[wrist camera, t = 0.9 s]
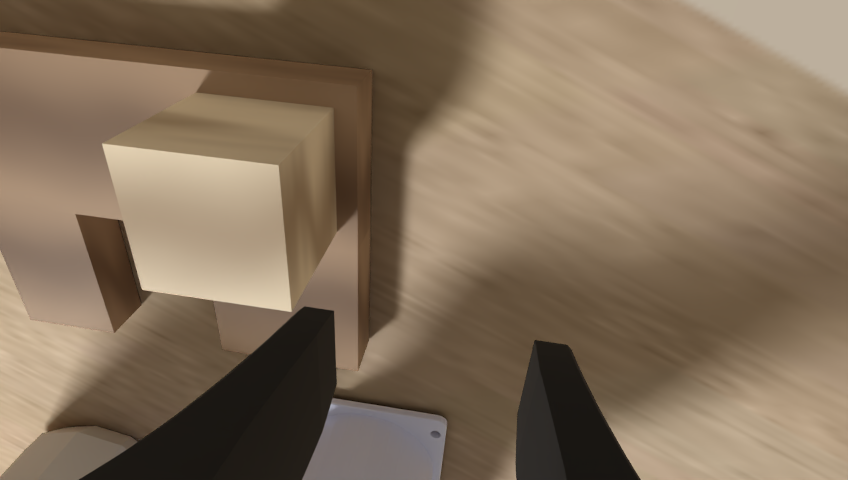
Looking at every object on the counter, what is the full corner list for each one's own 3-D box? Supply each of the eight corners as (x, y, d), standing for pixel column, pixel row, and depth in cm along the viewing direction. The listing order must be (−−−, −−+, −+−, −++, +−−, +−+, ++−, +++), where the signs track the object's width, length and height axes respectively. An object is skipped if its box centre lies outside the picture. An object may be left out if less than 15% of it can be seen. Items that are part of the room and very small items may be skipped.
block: (336, 232, 19) (291, 312, 15) (216, 215, 19) (141, 289, 15) (333, 107, 16) (278, 165, 12) (195, 92, 17) (102, 143, 13)
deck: (369, 339, 24) (345, 408, 20) (-106, 267, 26) (-198, 319, 23) (372, 70, 18) (338, 106, 14) (-256, 4, 20) (-416, 22, 16)
